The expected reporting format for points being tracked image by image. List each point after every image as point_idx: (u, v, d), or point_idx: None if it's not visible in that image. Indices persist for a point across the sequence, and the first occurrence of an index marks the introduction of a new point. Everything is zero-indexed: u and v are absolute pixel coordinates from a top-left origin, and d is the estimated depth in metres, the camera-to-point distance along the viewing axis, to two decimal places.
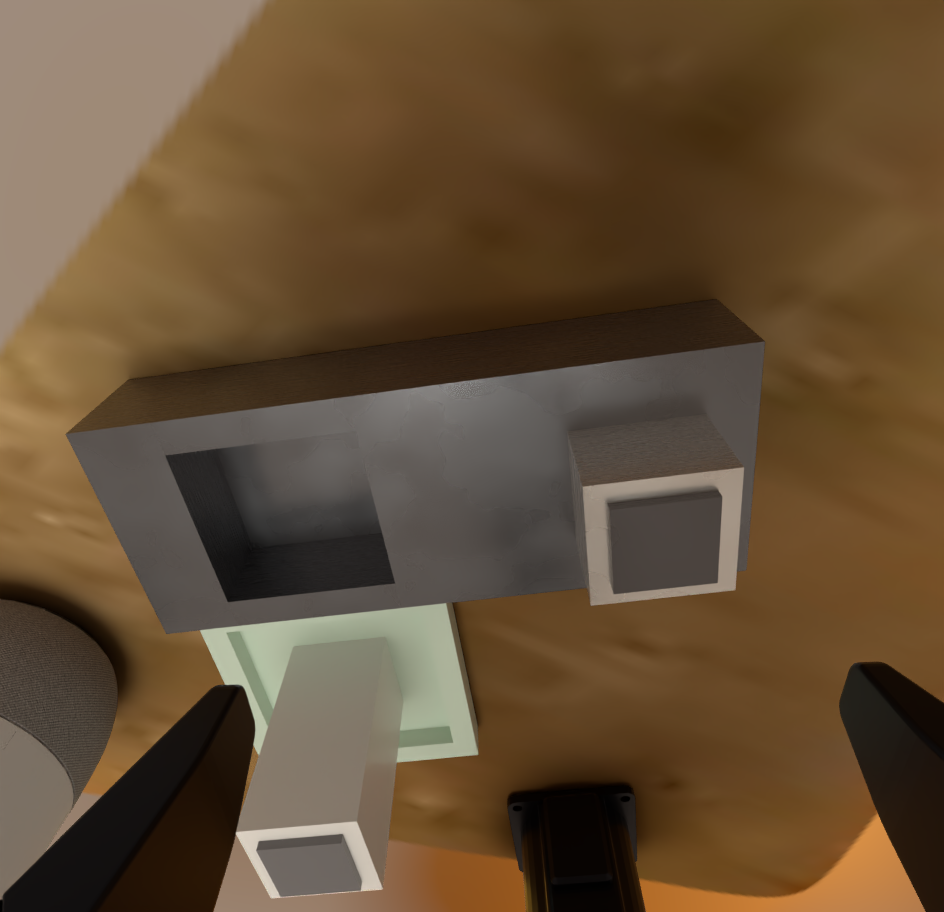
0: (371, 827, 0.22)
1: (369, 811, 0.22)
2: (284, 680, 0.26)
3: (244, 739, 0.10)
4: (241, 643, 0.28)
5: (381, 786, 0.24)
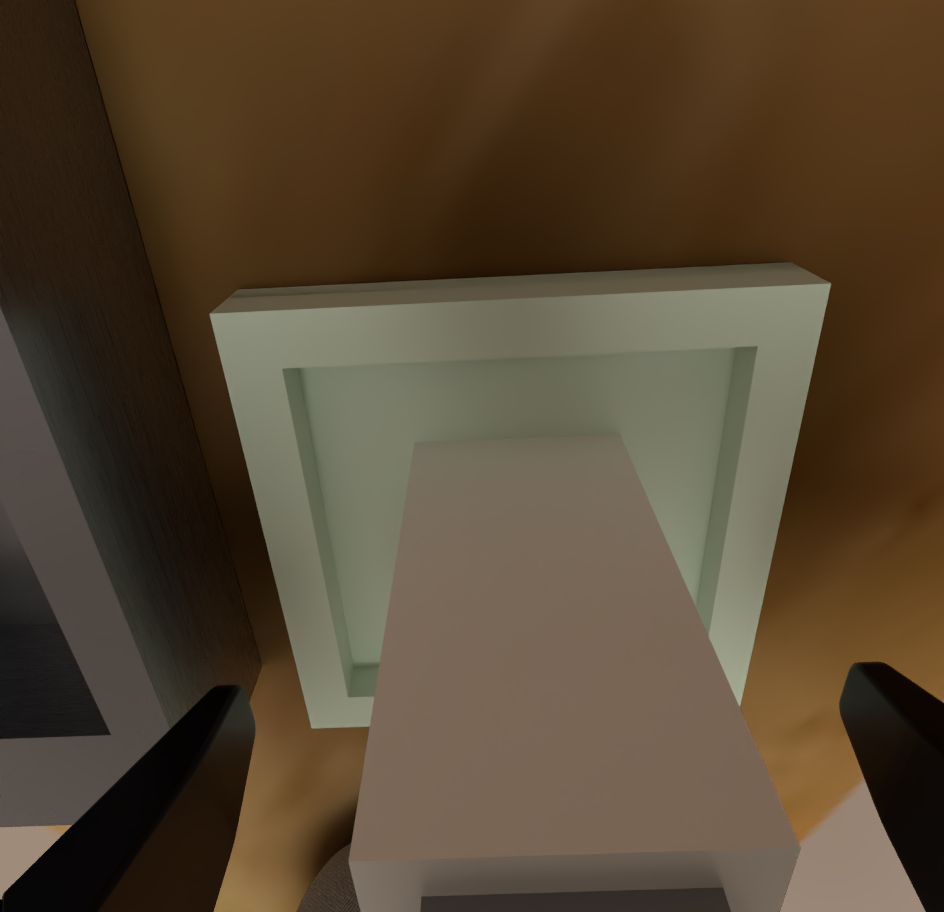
0: (529, 773, 0.07)
1: (481, 751, 0.07)
2: None
3: (244, 739, 0.10)
4: None
5: (567, 633, 0.08)
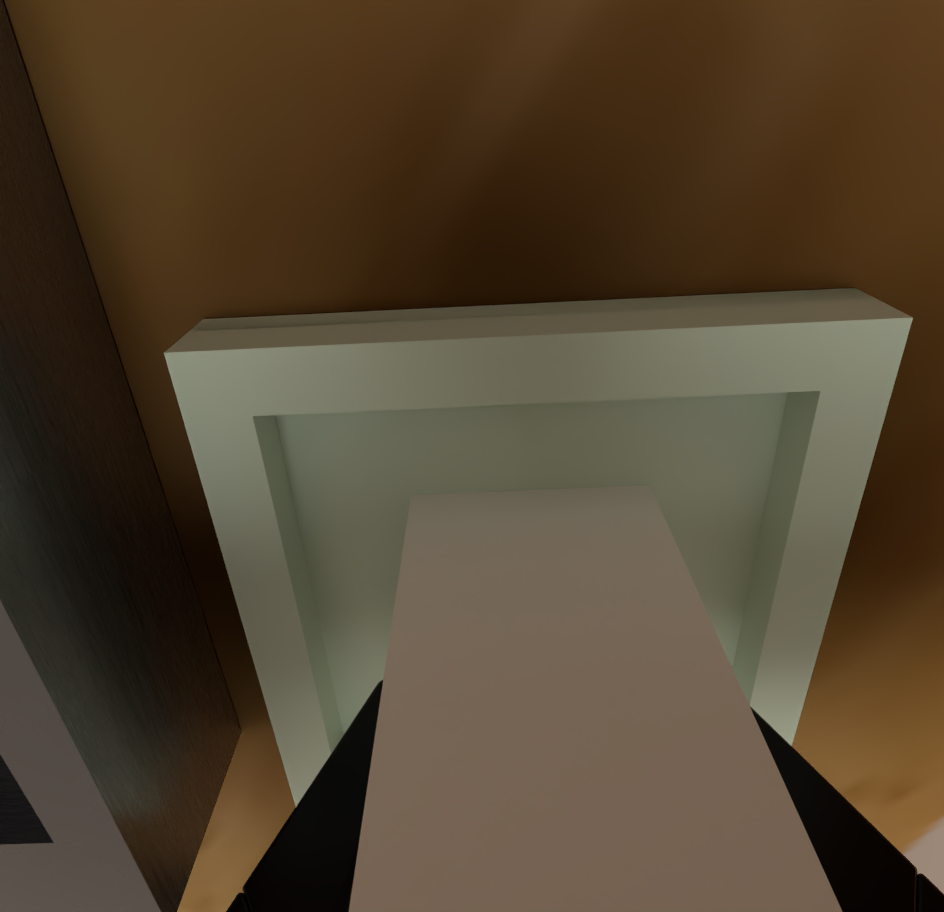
0: None
1: None
2: None
3: None
4: None
5: (603, 778, 0.06)
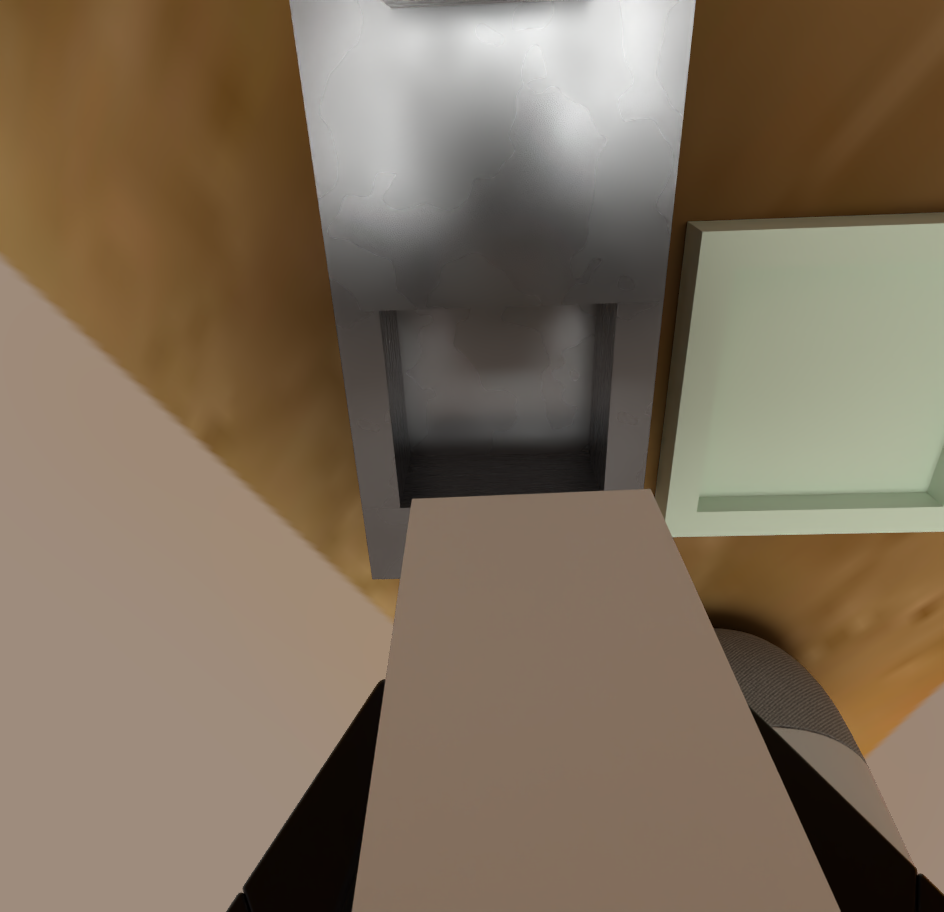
0: None
1: None
2: None
3: None
4: (729, 499, 0.22)
5: (604, 785, 0.06)
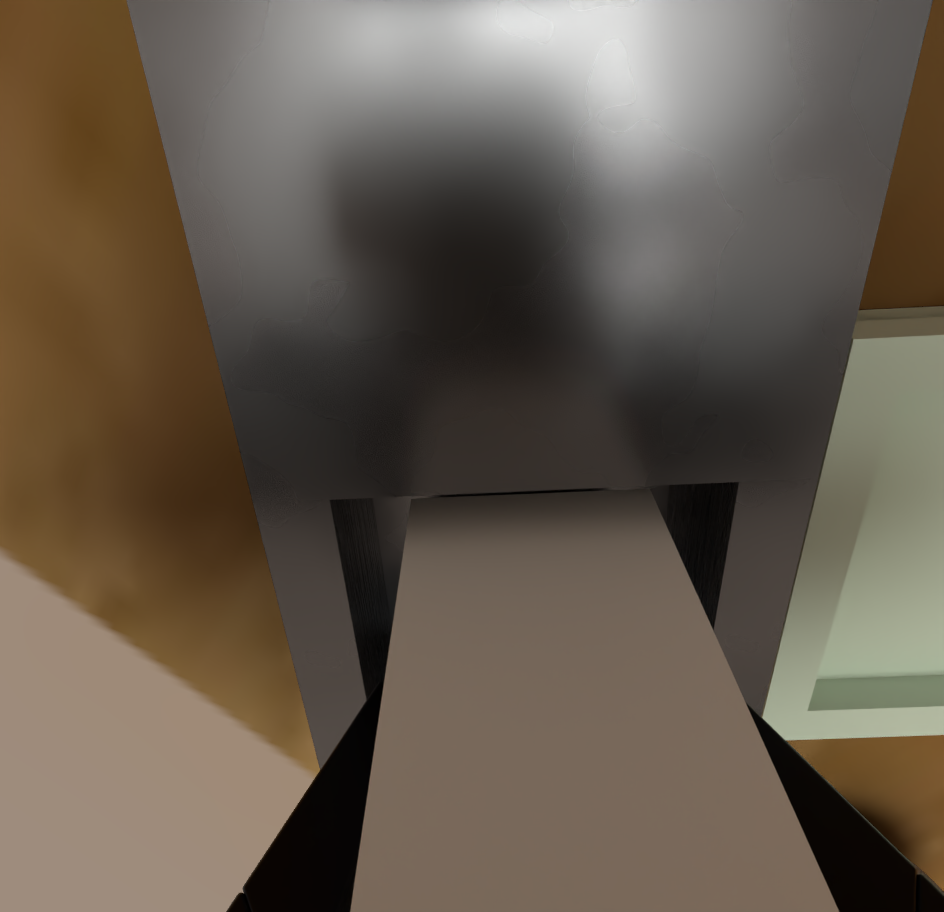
0: None
1: None
2: None
3: None
4: (849, 685, 0.16)
5: (604, 784, 0.06)
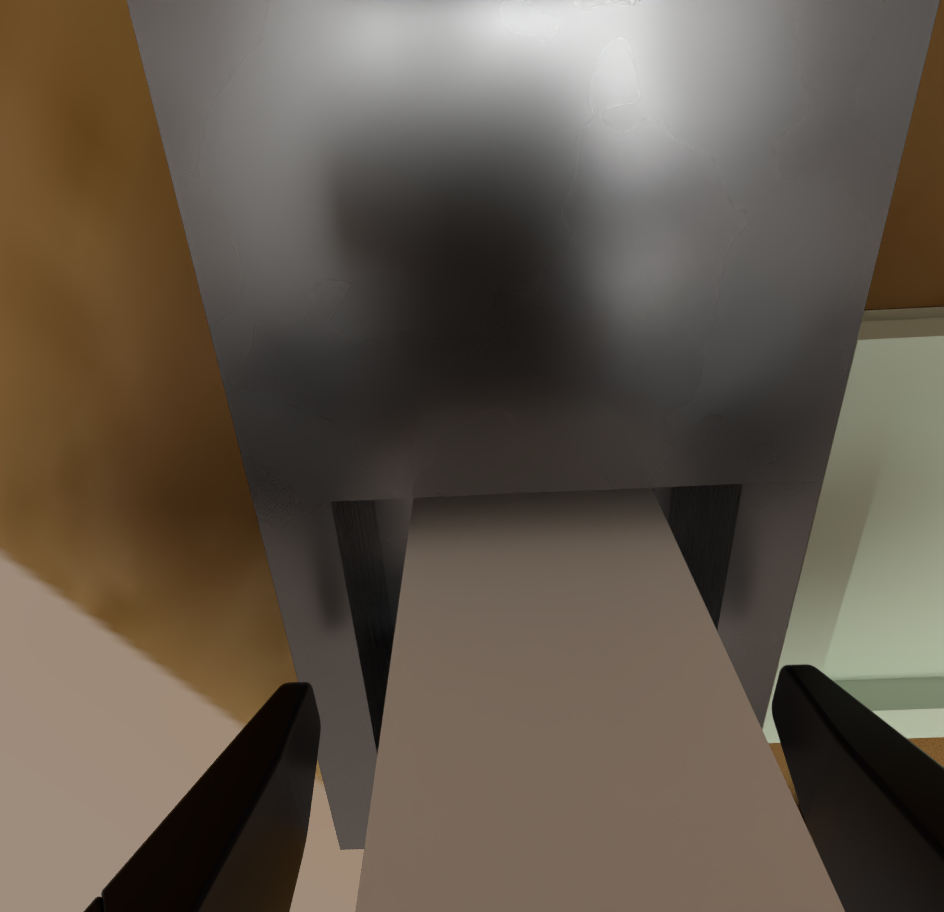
0: (548, 825, 0.06)
1: (495, 799, 0.06)
2: None
3: (312, 737, 0.10)
4: (852, 687, 0.16)
5: (584, 666, 0.08)
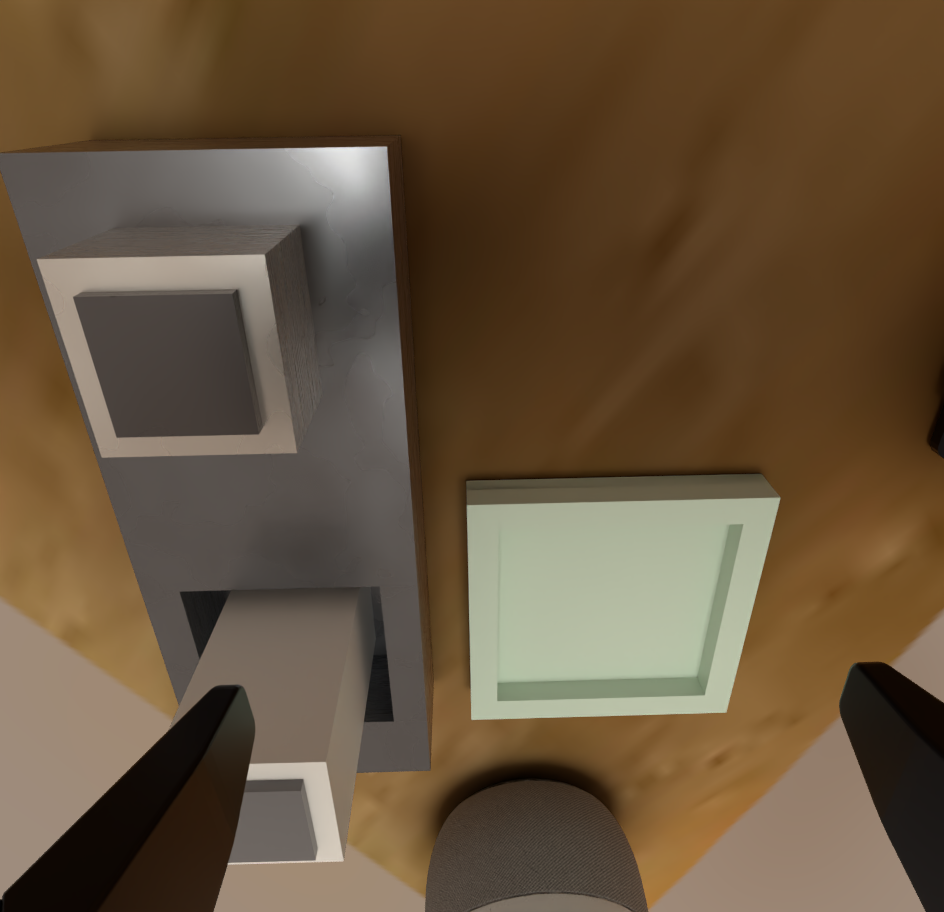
0: None
1: None
2: None
3: (244, 739, 0.10)
4: (529, 686, 0.26)
5: (279, 673, 0.18)
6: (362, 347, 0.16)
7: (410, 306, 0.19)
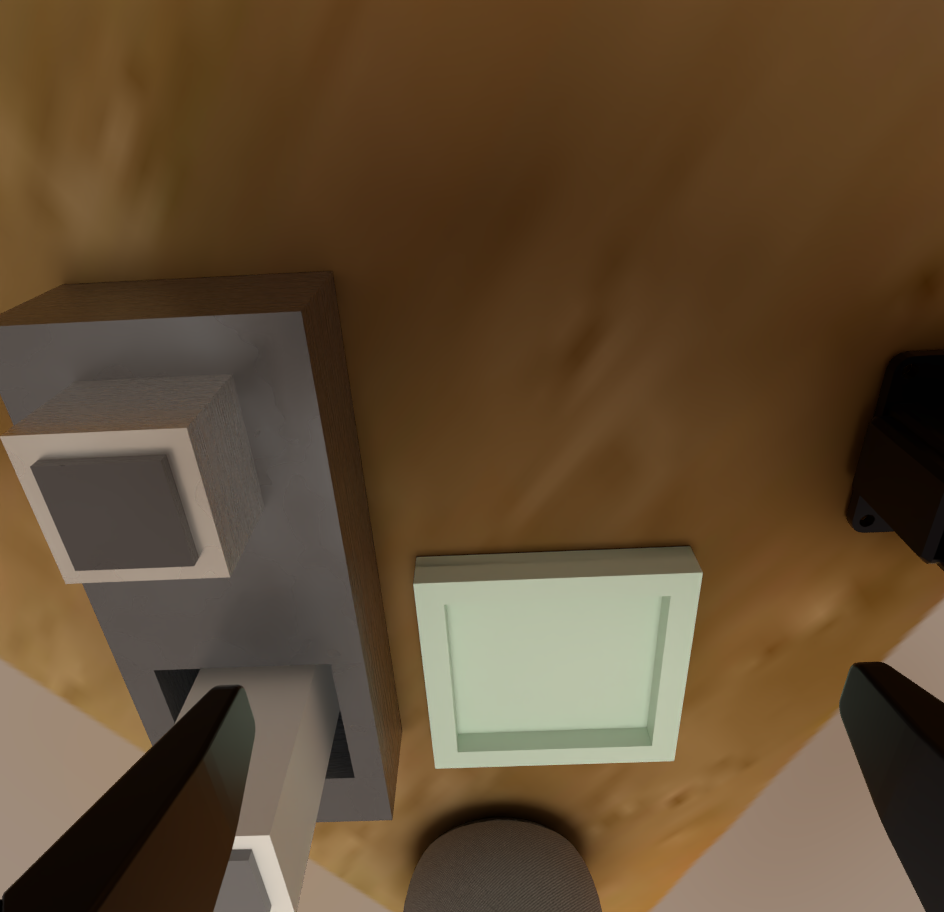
0: None
1: None
2: None
3: (244, 739, 0.10)
4: (488, 737, 0.28)
5: None
6: (296, 469, 0.18)
7: (352, 412, 0.21)
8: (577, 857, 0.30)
